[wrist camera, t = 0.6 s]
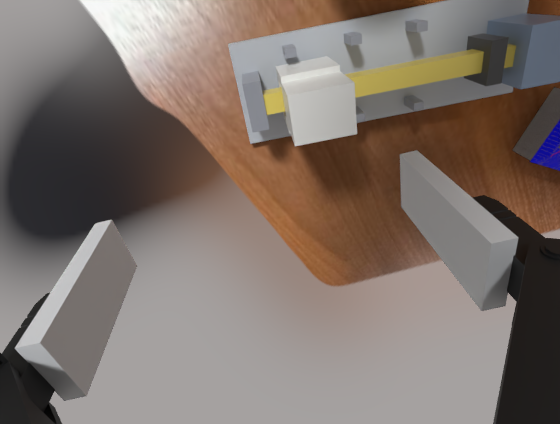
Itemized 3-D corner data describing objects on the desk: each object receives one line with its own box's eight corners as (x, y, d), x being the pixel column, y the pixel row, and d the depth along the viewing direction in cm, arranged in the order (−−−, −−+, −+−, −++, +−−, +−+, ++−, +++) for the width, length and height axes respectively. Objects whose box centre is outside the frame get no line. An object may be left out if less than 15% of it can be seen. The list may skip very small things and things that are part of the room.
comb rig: (250, 141, 39) (252, 167, 33) (228, 43, 34) (225, 53, 28) (507, 90, 39) (555, 107, 33) (526, -16, 34) (587, -19, 28)
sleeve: (283, 117, 36) (296, 152, 28) (275, 66, 34) (286, 88, 26) (331, 108, 36) (357, 140, 28) (327, 56, 33) (354, 75, 25)
